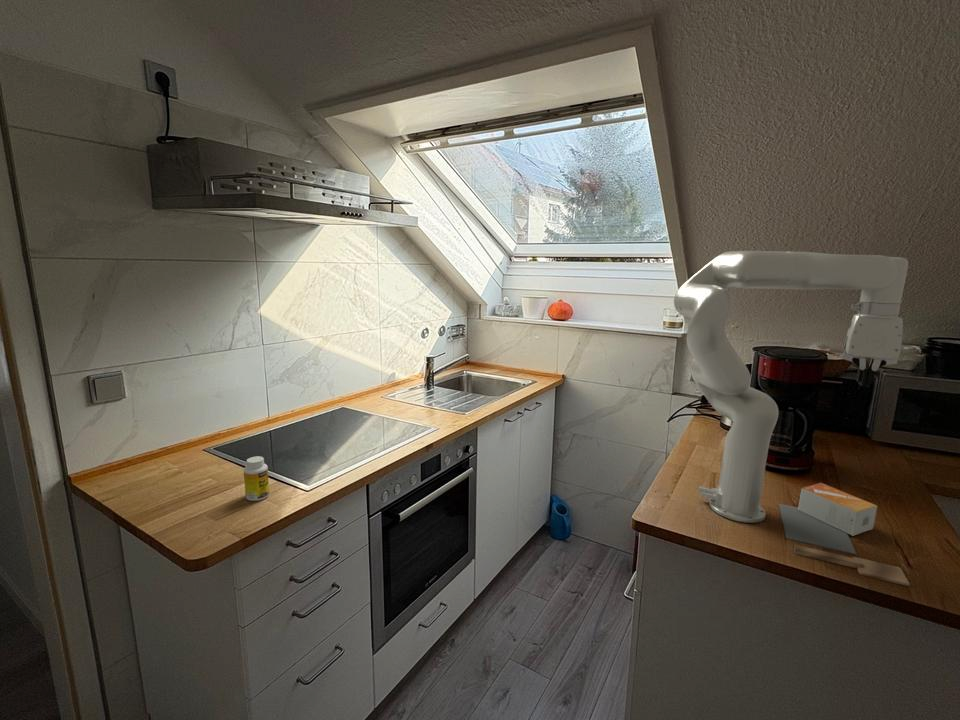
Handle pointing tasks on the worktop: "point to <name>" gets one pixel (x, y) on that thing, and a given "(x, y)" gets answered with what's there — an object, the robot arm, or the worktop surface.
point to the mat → (813, 530)
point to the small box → (837, 508)
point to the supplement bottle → (256, 479)
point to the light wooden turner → (858, 565)
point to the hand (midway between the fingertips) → (863, 385)
